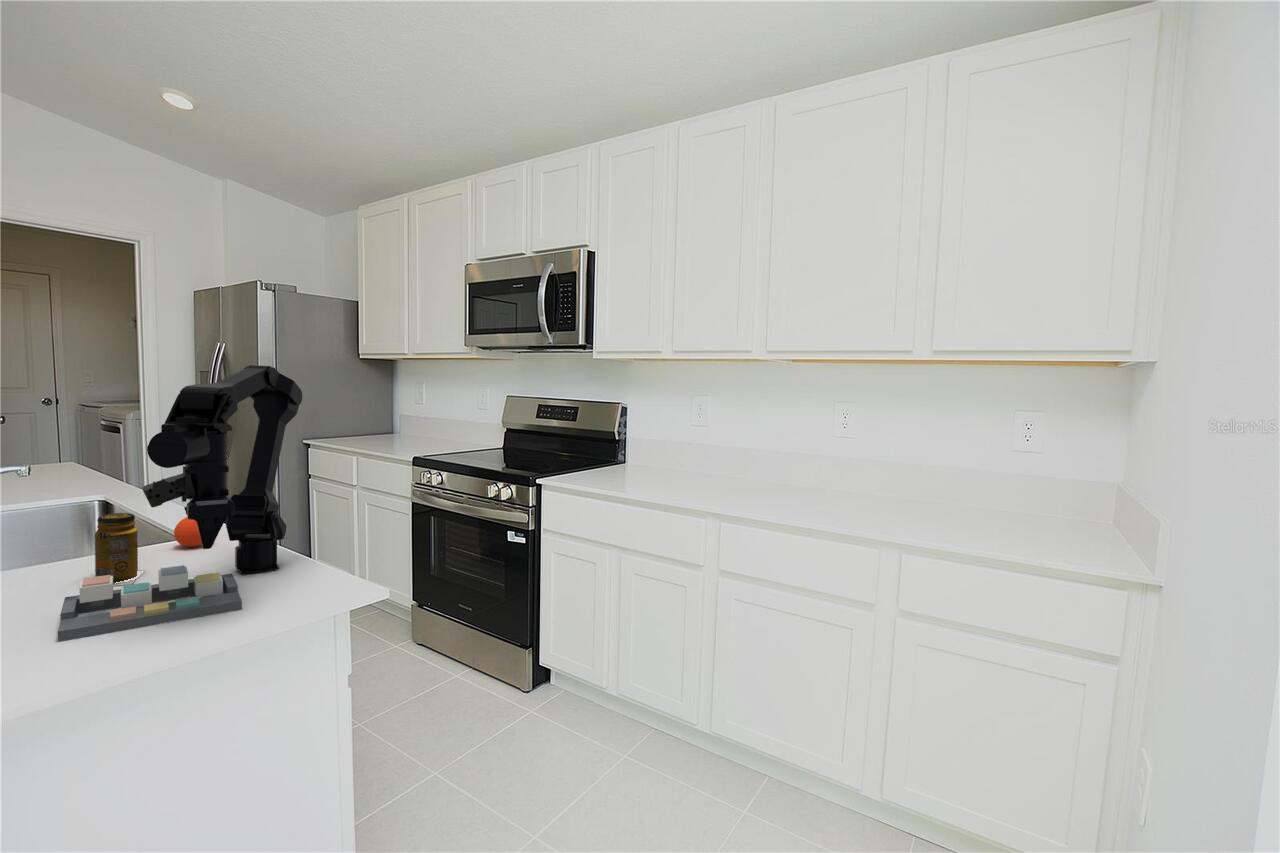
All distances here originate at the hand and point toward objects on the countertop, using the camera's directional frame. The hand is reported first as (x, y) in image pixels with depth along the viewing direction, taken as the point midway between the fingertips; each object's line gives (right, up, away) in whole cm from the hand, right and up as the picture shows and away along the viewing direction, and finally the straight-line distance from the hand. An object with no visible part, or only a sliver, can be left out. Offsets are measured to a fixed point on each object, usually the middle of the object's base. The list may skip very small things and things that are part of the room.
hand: (207, 548), depth 104 cm
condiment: (-23, -8, +8) cm, 26 cm away
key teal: (-8, -9, -5) cm, 13 cm away
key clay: (-11, -7, -9) cm, 16 cm away
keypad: (-5, -9, -4) cm, 12 cm away
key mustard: (0, -9, +1) cm, 9 cm away
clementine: (-25, -6, +30) cm, 39 cm away
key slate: (-4, -7, -2) cm, 8 cm away
